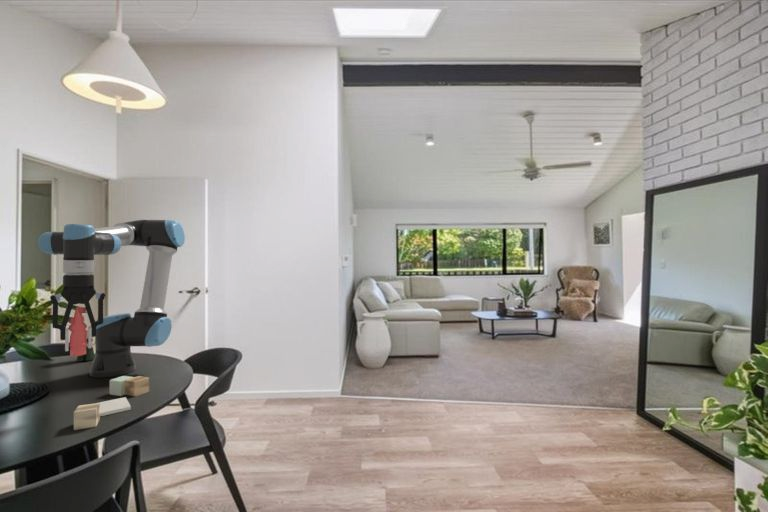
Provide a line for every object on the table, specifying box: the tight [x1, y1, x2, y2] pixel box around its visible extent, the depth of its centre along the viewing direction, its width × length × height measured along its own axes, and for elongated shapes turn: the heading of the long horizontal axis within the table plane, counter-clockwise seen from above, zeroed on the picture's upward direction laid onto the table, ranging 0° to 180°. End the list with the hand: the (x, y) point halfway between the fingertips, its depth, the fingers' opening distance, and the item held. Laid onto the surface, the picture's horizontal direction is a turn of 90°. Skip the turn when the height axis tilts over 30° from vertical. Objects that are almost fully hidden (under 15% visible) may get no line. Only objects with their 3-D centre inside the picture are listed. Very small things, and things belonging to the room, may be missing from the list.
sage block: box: [109, 375, 135, 397], centre depth 132 cm, size 5×5×5 cm
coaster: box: [98, 396, 132, 417], centre depth 118 cm, size 10×10×1 cm
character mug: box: [76, 329, 95, 362], centre depth 170 cm, size 11×7×13 cm, turn 119°
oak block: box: [125, 375, 150, 397], centre depth 132 cm, size 5×5×5 cm
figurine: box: [68, 306, 88, 357], centre depth 118 cm, size 5×5×15 cm
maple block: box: [73, 402, 101, 431], centre depth 108 cm, size 5×5×5 cm
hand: (78, 348), depth 118 cm, fingers closed on figurine, 5 cm apart
